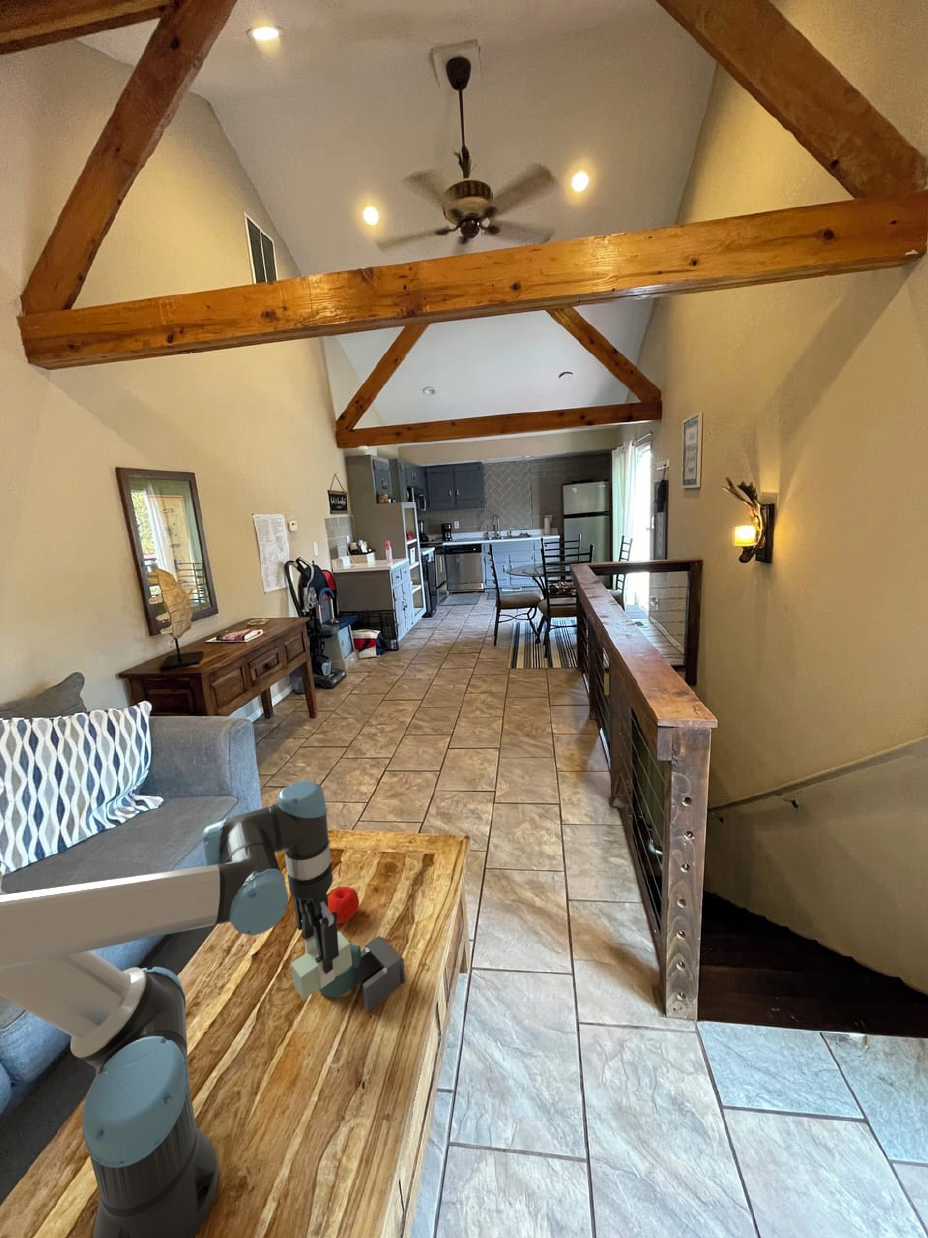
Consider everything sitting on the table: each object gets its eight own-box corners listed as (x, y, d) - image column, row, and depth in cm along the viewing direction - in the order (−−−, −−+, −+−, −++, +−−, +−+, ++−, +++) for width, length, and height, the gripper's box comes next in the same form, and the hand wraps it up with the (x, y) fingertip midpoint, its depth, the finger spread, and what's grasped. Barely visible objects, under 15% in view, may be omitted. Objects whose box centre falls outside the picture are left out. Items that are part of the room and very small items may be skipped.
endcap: (367, 1012, 99) (365, 985, 98) (346, 986, 105) (344, 959, 104) (405, 982, 106) (403, 956, 104) (383, 958, 111) (381, 933, 110)
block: (303, 1000, 91) (300, 977, 90) (293, 985, 94) (290, 963, 92) (352, 964, 97) (349, 943, 96) (341, 952, 100) (339, 931, 99)
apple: (344, 937, 117) (341, 910, 115) (319, 924, 121) (316, 897, 119) (366, 913, 124) (364, 887, 122) (342, 901, 128) (340, 876, 126)
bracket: (364, 984, 105) (362, 948, 103) (320, 1005, 100) (316, 968, 98) (352, 952, 112) (349, 918, 110) (310, 970, 108) (307, 935, 106)
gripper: (353, 880, 86) (362, 991, 91) (306, 835, 98) (317, 935, 104) (312, 904, 81) (325, 1020, 86) (269, 854, 93) (282, 958, 99)
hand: (321, 974), depth 95 cm, fingers closed on block, 4 cm apart
